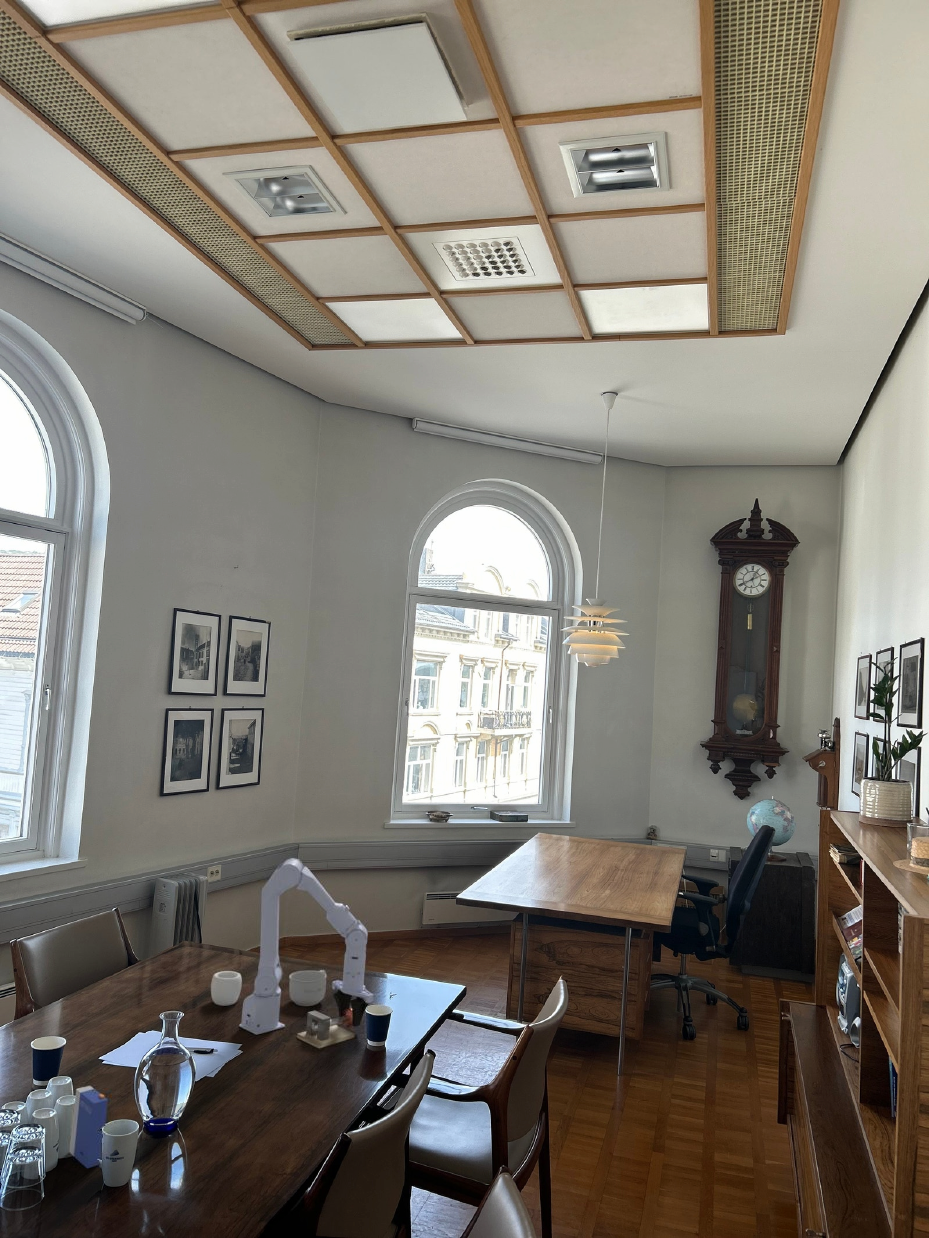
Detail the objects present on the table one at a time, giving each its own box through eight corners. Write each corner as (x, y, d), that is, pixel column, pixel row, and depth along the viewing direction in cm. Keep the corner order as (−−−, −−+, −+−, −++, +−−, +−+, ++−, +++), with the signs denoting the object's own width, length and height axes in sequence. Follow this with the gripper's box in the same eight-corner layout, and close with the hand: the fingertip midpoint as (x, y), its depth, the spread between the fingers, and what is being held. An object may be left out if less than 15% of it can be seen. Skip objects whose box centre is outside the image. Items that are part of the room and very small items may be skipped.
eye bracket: (319, 1048, 229) (321, 1022, 230) (297, 1037, 235) (299, 1012, 236) (354, 1037, 238) (356, 1012, 239) (332, 1027, 244) (334, 1003, 245)
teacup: (304, 1012, 254) (307, 983, 255) (279, 1002, 261) (281, 973, 262) (339, 1001, 265) (342, 973, 266) (314, 991, 272) (316, 964, 273)
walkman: (101, 1163, 168) (108, 1097, 169) (87, 1168, 166) (93, 1101, 167) (83, 1147, 174) (89, 1083, 175) (68, 1151, 172) (75, 1086, 173)
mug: (239, 1007, 254) (242, 979, 255) (208, 1008, 252) (211, 979, 253) (240, 993, 266) (242, 966, 266) (210, 993, 264) (213, 966, 264)
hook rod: (317, 1040, 232) (319, 1021, 232) (306, 1034, 235) (307, 1016, 235) (358, 1027, 242) (359, 1010, 243) (346, 1022, 245) (348, 1005, 246)
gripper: (383, 975, 242) (379, 1027, 241) (347, 961, 252) (343, 1011, 251) (363, 980, 237) (359, 1033, 236) (328, 966, 247) (323, 1017, 246)
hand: (349, 1022), depth 243 cm, fingers closed on hook rod, 5 cm apart
